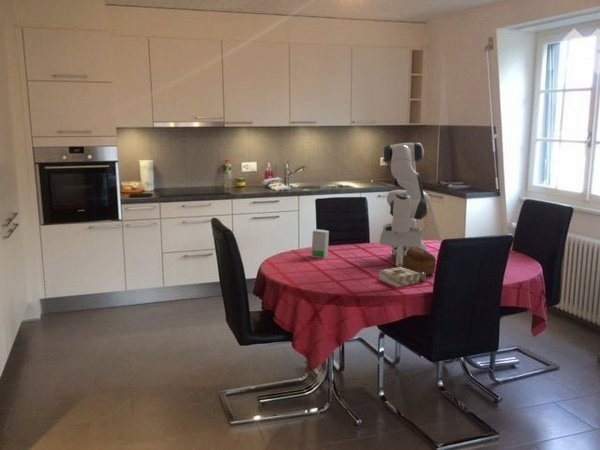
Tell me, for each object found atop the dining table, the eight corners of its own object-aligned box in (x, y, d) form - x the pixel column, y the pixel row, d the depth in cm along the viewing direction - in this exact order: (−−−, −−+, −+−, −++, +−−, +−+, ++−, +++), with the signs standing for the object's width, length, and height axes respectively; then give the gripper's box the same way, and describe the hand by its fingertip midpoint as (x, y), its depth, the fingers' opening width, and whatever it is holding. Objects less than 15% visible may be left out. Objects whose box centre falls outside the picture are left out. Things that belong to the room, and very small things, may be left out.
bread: (409, 262, 327) (410, 241, 325) (438, 275, 301) (440, 252, 299) (388, 264, 322) (388, 243, 320) (416, 278, 296) (417, 254, 294)
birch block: (399, 276, 299) (400, 266, 298) (418, 282, 287) (419, 273, 286) (378, 280, 291) (379, 270, 290) (397, 287, 280) (398, 277, 279)
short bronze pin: (421, 280, 292) (422, 271, 291) (427, 281, 289) (427, 273, 288) (416, 281, 290) (417, 272, 289) (421, 283, 287) (422, 274, 286)
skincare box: (311, 257, 336) (311, 230, 333) (315, 254, 342) (315, 228, 339) (324, 258, 333) (325, 232, 330) (328, 256, 339) (329, 230, 336)
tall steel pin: (399, 264, 290) (400, 241, 288) (404, 266, 287) (405, 242, 285) (394, 265, 288) (395, 241, 286) (399, 266, 285) (400, 243, 283)
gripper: (422, 227, 285) (421, 254, 288) (381, 225, 289) (380, 251, 292) (422, 229, 279) (421, 257, 282) (380, 227, 283) (379, 254, 286)
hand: (399, 254), depth 287 cm, fingers closed on tall steel pin, 4 cm apart
